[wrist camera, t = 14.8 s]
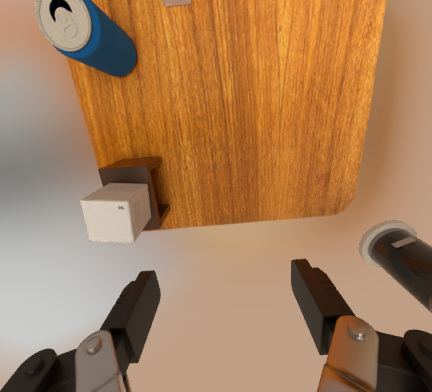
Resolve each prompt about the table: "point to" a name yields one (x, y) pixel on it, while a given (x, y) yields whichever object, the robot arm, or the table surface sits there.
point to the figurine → (176, 2)
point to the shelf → (137, 174)
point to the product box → (117, 212)
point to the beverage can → (86, 35)
